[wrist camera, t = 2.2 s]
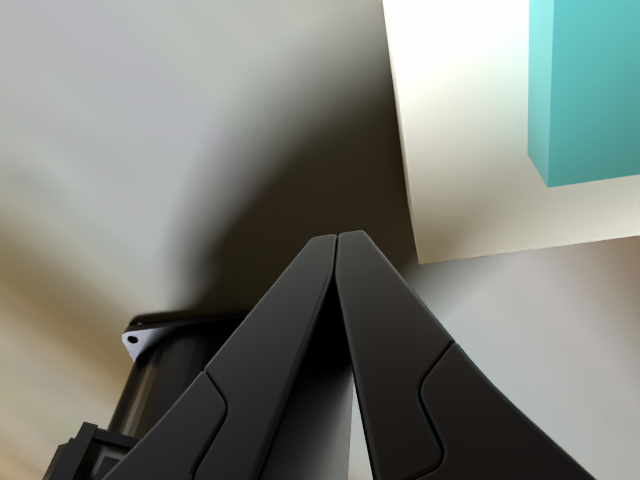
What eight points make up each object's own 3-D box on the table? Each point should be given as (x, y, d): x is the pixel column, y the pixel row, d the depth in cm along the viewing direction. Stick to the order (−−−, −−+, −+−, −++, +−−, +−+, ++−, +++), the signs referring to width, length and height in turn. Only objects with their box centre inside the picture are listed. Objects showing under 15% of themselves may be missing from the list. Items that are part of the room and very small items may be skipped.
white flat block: (407, 203, 22) (419, 264, 19) (362, -163, 16) (367, -166, 13) (766, 150, 21) (847, 207, 17) (883, -287, 14) (1047, -328, 11)
